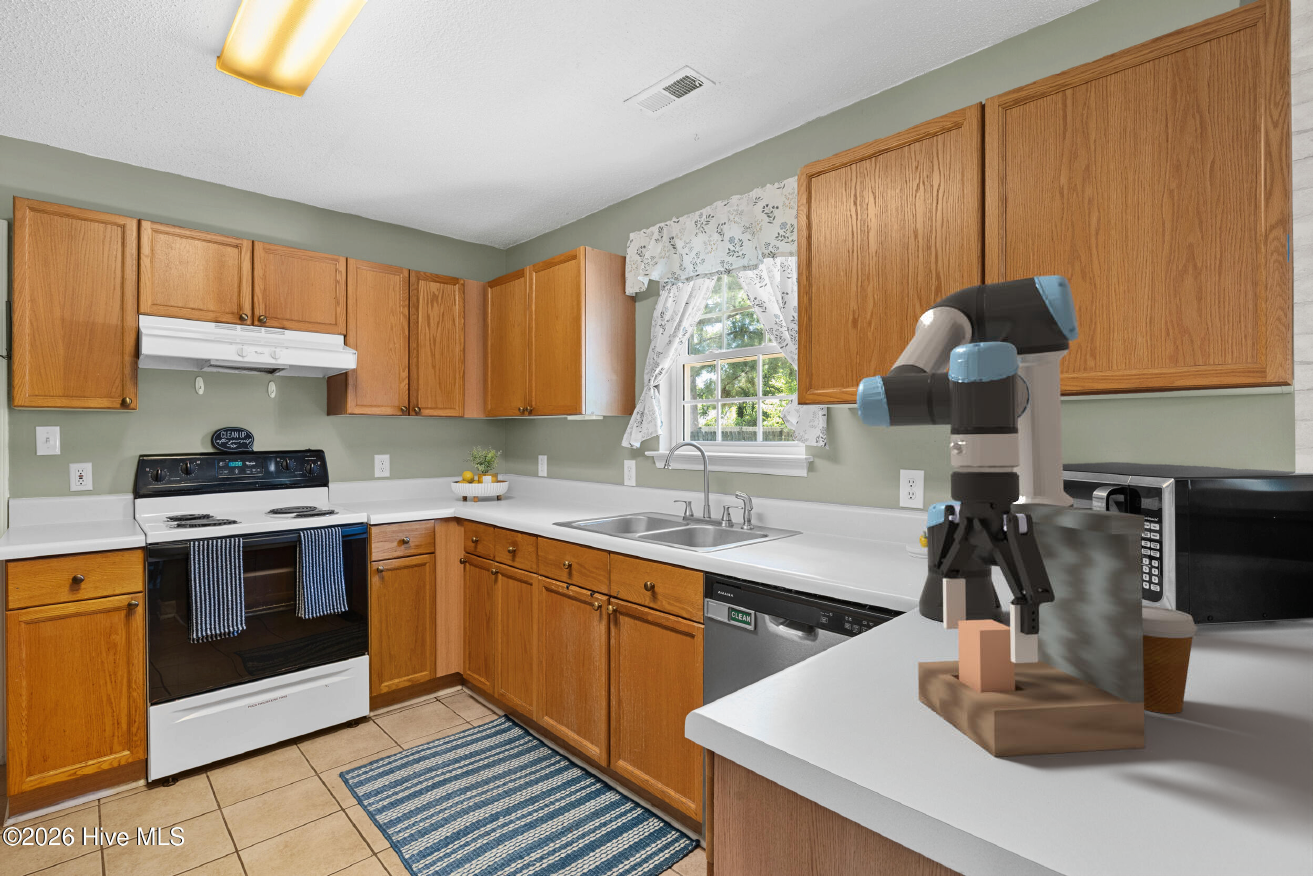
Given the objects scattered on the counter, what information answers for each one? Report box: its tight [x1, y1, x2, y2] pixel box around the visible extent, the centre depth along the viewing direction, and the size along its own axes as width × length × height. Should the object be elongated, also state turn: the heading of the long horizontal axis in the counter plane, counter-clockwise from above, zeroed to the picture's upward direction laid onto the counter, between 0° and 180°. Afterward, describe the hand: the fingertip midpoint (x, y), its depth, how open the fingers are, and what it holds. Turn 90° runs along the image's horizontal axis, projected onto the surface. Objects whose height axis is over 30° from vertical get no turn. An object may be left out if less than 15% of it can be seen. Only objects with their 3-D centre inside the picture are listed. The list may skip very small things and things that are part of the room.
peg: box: [957, 620, 1015, 693], centre depth 79 cm, size 4×4×12 cm
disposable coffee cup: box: [1142, 604, 1198, 714], centre depth 85 cm, size 10×10×12 cm
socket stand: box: [917, 503, 1146, 758], centre depth 79 cm, size 17×18×26 cm
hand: (986, 643), depth 79 cm, fingers open, 13 cm apart
